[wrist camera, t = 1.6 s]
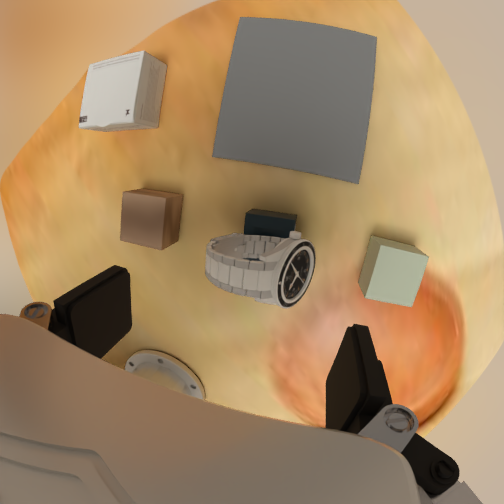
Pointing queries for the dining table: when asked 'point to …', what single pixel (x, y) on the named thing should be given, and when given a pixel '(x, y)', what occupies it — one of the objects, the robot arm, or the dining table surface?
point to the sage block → (392, 271)
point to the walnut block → (151, 218)
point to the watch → (263, 259)
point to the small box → (123, 93)
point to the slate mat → (298, 97)
